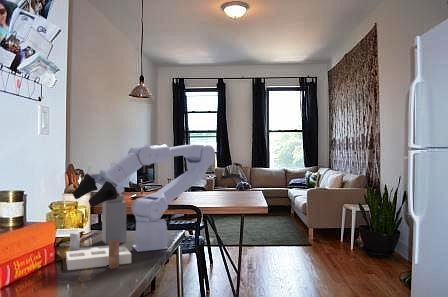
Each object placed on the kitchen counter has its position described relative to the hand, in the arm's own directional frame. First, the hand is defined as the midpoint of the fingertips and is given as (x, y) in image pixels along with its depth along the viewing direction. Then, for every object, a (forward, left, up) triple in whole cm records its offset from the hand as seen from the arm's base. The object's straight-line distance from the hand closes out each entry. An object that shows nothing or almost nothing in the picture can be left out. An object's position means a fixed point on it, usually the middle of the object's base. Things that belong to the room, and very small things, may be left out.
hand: (82, 200), depth 106 cm
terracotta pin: (-7, +10, -17) cm, 21 cm away
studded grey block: (-4, -7, -17) cm, 19 cm away
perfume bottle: (-12, -23, -17) cm, 31 cm away
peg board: (-4, +2, -17) cm, 17 cm away
